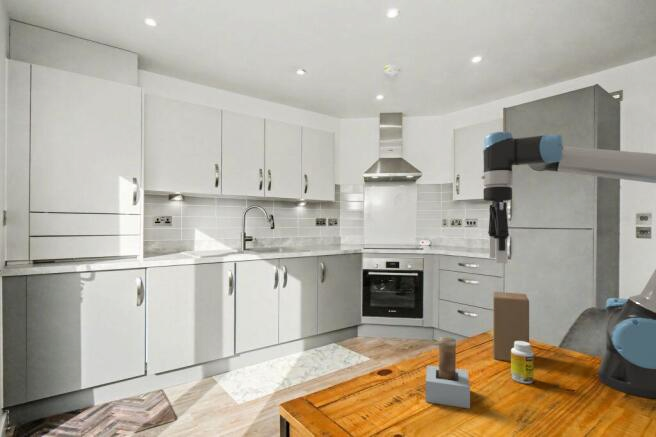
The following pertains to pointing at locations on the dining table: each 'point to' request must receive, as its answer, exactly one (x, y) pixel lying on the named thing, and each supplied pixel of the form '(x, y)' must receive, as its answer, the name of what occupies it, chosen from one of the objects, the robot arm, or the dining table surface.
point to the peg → (447, 358)
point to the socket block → (447, 388)
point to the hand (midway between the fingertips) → (497, 260)
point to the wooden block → (509, 323)
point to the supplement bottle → (522, 362)
